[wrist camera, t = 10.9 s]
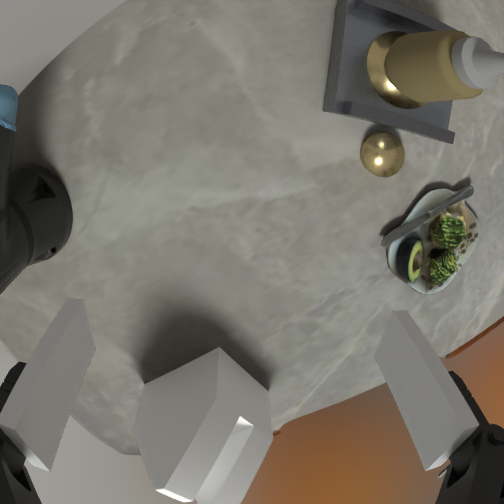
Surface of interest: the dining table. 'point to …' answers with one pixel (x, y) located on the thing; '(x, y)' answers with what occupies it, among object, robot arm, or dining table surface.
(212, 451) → the white notched stand
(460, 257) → the avocado toast plate
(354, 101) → the grey rimmed block
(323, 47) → the dining table surface
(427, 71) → the squeeze bottle
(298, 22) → the dining table surface
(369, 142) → the brass dome knob
